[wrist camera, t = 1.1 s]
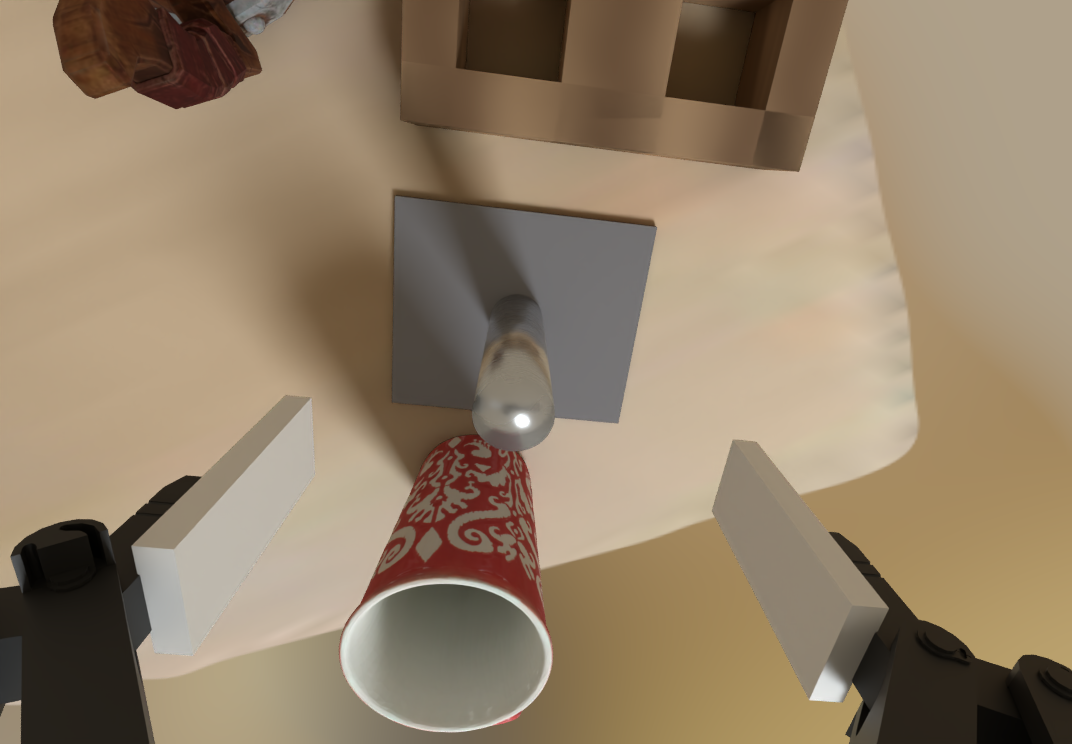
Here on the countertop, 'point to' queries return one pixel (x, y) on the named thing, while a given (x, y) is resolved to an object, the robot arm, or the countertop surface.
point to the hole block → (629, 81)
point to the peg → (514, 378)
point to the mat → (506, 269)
